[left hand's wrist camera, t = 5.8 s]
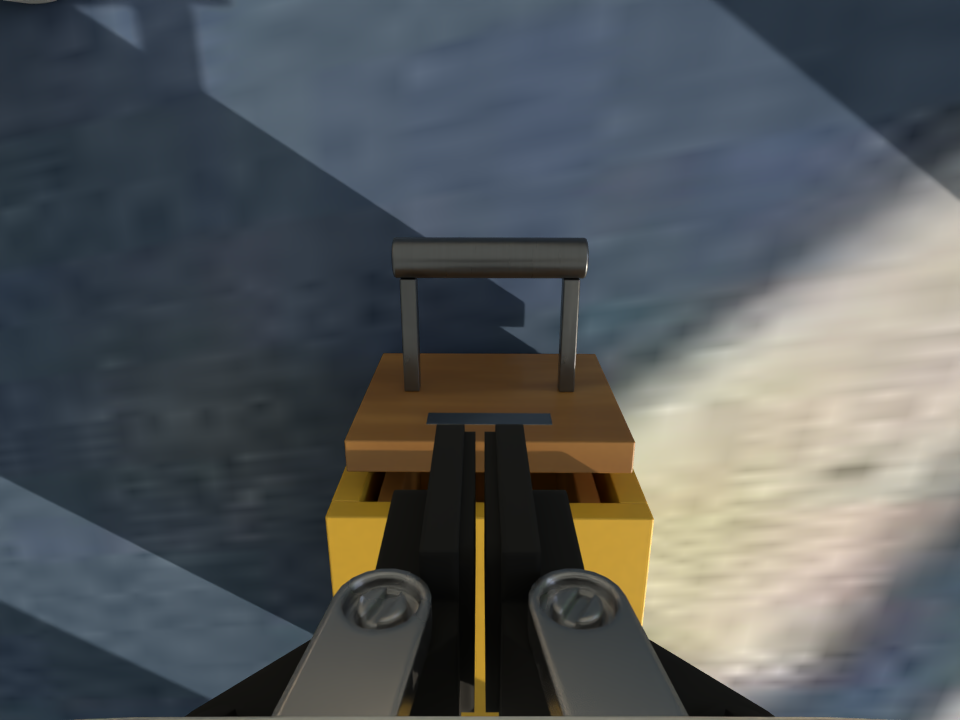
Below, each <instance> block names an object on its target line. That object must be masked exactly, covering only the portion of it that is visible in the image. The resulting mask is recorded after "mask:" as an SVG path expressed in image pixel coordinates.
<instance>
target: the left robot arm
mask: <svg viewBox="0 0 960 720" xmlns="http://www.w3.org/2000/svg"><path fill="white" fill-rule="evenodd" d="M475 602H476V432H465V424H437V426H436V433H435V440H434V447H433V454H432V461H431V468H430V476H429V483H428V490H394V492H393V495H392V499H391V504H390V508H389V512H388V517H387V521H386V525H385V530H384V534H383V538H382V543H381V547H380V552H379V556H378V560H377V565H376V569H375V570H372V571H367V572H364V573H362V574H360V575H357V576H355V577H353V578H351V579H350V580H349V581H347V582H346V583H345V584H343V585H342V586H341V587H340V589H339V590H338V591H337V592H336V594H335V595H334V597H333V599H332V601H331V602H330V604H329V606H328V608H327V610H326V612H325V614H324V616H323V618H322V620H321V622H320V624H319V625H318V627H317V629H316V631H315V633H314V635H313V637H312V639H311V640H309V641H307V642H306V643H304V644H303V645H301V646H299V647H298V648H296V649H294V650H293V651H291V652H289V653H288V654H286V655H284V656H283V657H281V658H279V659H278V660H276V661H274V662H273V663H271V664H270V665H268V666H266V667H265V668H263V669H261V670H260V671H258V672H256V673H255V674H253V675H251V676H250V677H248V678H246V679H245V680H243V681H241V682H240V683H238V684H236V685H235V686H233V687H232V688H230V689H228V690H227V691H225V692H223V693H222V694H220V695H218V696H217V697H215V698H213V699H212V700H210V701H208V702H207V703H205V704H203V705H202V706H200V707H198V708H197V709H195V710H194V711H192V712H191V713H189V714H188V715H187V716H185V717H128V718H102V719H76V720H884V719H858V718H832V717H775V716H773V715H772V714H771V713H769V712H768V711H766V710H765V709H763V708H762V707H760V706H758V705H757V704H755V703H753V702H752V701H750V700H748V699H747V698H745V697H743V696H742V695H740V694H738V693H737V692H735V691H733V690H732V689H730V688H728V687H727V686H725V685H724V684H722V683H720V682H719V681H717V680H715V679H714V678H712V677H710V676H709V675H707V674H705V673H704V672H702V671H700V670H699V669H697V668H695V667H694V666H692V665H690V664H689V663H687V662H686V661H684V660H682V659H681V658H679V657H677V656H676V655H674V654H672V653H671V652H669V651H667V650H666V649H664V648H662V647H661V646H659V645H657V644H656V643H654V642H653V641H651V640H649V639H648V637H647V635H646V633H645V631H644V629H643V627H642V625H641V624H640V622H639V620H638V618H637V616H636V614H635V612H634V610H633V608H632V606H631V604H630V602H629V601H628V599H627V597H626V595H625V594H624V592H623V591H622V590H621V589H620V587H619V586H618V585H617V584H615V583H614V582H613V581H611V580H610V579H609V578H607V577H605V576H603V575H600V574H598V573H596V572H593V571H588V570H585V569H584V565H583V560H582V556H581V552H580V547H579V543H578V539H577V534H576V530H575V525H574V521H573V517H572V512H571V508H570V504H569V499H568V495H567V492H566V490H532V483H531V476H530V468H529V461H528V454H527V447H526V440H525V433H524V426H523V424H495V432H484V602H485V709H486V712H499V716H461V712H474V709H475Z"/></svg>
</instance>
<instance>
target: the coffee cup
mask: <svg viewBox="0 0 960 720" xmlns="http://www.w3.org/2000/svg"><path fill="white" fill-rule="evenodd" d="M5 1H13V2H21V3H30V4H39V3H48V2H53V1H56V0H5Z"/></svg>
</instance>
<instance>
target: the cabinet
mask: <svg viewBox="0 0 960 720" xmlns="http://www.w3.org/2000/svg"><path fill="white" fill-rule="evenodd" d="M385 474H386V472H348V471H347V468H346V467H345V470H344V472H343V474H342V477H341V479H340V482H339V484H338V487H337V489H336V492H335V494H334V496H333V499H332V502H331V504H330V507H329V509H328V512H327V514H326V517H325V520H326V531H327V541H328V551H329V561H330V572H331V582H332V592H333V597H334V595H335V594H336V592H337V591H338V590H339V589H340V587H341V586H342V585H343V584H345V583H346V582H347V581H349V580H350V579H351V578H353V577H355V576H357V575H360V574H362V573H364V572H367V571H372V570H375V569H376V565H377V560H378V556H379V552H380V547H381V543H382V538H383V534H384V530H385V525H386V521H387V517H388V512H389V508H390V504H391V502H377V501H378V498H379V495H380V491H381V488H382V484H383V481H384V477H385ZM592 474H593V478H594V481H595V485H596V488H597V492H598V495H599V498H600V502H601V503H569V504H570V508H571V512H572V517H573V521H574V525H575V530H576V534H577V539H578V543H579V547H580V552H581V556H582V560H583V565H584V569H585V570H588V571H593V572H596V573H598V574H600V575H603V576H605V577H607V578H609V579H610V580H611V581H613V582H614V583H615V584H617V585H618V586H619V587H620V589H621V590H622V591H623V592H624V594H625V595H626V597H627V599H628V601H629V602H630V604H631V606H632V608H633V610H634V612H635V614H636V616H637V618H638V620H639V622H640V624H641V625H642V624H643V615H644V605H645V596H646V587H647V578H648V569H649V559H650V550H651V541H652V532H653V523H654V518H653V516H652V514H651V511H650V509H649V506H648V504H647V501H646V499H645V496H644V494H643V492H642V489H641V487H640V484H639V482H638V480H637V477H636V475H635V472H634V470H633V471H632V473H592ZM461 716H499V712H486V709H485V602H484V502H476V602H475V709H474V712H461Z"/></svg>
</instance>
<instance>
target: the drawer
mask: <svg viewBox="0 0 960 720" xmlns="http://www.w3.org/2000/svg"><path fill="white" fill-rule="evenodd" d="M588 260H589V251H588V242H587V239H586V238H414V237H396V238H394V240H393V243H392V270H393V274H394V277H396V278H401V279H400V300H401V322H402V345H403V353H383V355H382V357H381V360H380V362H379V364H378V366H377V369H376V371H375V373H374V375H373V378H372V380H371V382H370V384H369V387H368V389H367V391H366V393H365V396H364V398H363V400H362V402H361V405H360V407H359V409H358V411H357V414H356V416H355V418H354V420H353V423H352V425H351V427H350V429H349V432H348V434H347V436H346V438H345V441H344V443H345V456H346V468H347V471H348V472H386V474H385V477H384V481H383V484H382V488H381V491H380V495H379V498H378V501H377V502H391V499H392V495H393V492H394V490H428V483H429V476H430V468H431V461H432V454H433V447H434V440H435V433H436V426H437V424H465V432H476V502H484V432H495V424H523V426H524V433H525V440H526V447H527V454H528V461H529V468H530V476H531V483H532V490H566V492H567V495H568V499H569V503H601V502H600V498H599V495H598V492H597V488H596V485H595V481H594V478H593V474H592V473H632V471H633V460H634V449H635V441H634V439H633V437H632V434H631V432H630V430H629V428H628V426H627V423H626V421H625V419H624V417H623V415H622V412H621V410H620V408H619V406H618V404H617V401H616V399H615V397H614V395H613V393H612V390H611V388H610V386H609V384H608V382H607V379H606V377H605V375H604V373H603V371H602V368H601V366H600V364H599V362H598V360H597V357H596V355H595V354H576V347H577V329H578V310H579V292H580V279H579V278H585V277H586V274H587V270H588ZM417 278H562V294H561V317H560V339H559V354H434V353H420V341H419V311H418V282H417Z"/></svg>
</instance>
